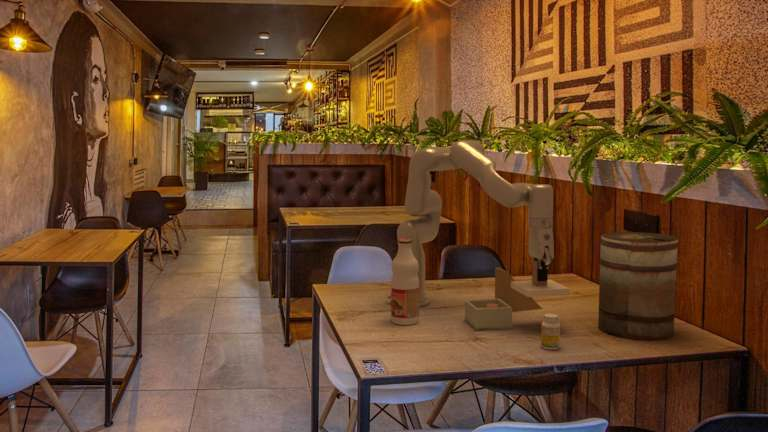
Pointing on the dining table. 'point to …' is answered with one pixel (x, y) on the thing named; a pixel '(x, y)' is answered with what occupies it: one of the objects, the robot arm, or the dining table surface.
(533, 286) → the lid
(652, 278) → the barrel
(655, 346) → the dining table surface
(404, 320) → the fruit juice
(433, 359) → the dining table surface
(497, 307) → the box
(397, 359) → the dining table surface
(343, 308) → the dining table surface
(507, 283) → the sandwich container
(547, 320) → the supplement bottle
